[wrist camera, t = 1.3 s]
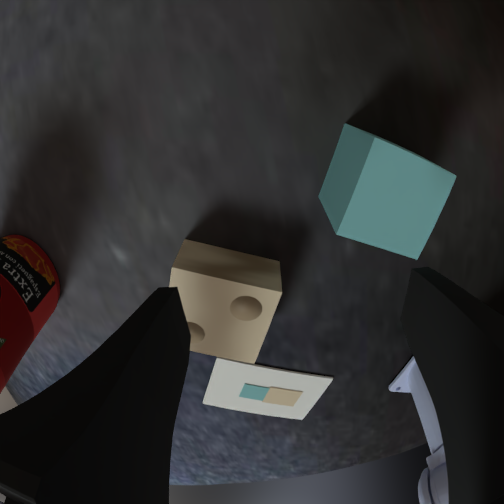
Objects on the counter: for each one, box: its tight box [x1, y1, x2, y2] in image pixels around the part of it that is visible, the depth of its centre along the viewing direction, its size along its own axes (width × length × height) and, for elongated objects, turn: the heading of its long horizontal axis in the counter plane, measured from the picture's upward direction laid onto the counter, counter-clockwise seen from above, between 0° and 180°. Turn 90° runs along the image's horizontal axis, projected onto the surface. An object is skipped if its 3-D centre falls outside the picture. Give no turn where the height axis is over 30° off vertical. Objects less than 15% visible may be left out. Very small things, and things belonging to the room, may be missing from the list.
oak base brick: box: [169, 239, 282, 364], centre depth 20 cm, size 6×6×4 cm
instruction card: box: [203, 357, 333, 420], centre depth 26 cm, size 10×7×1 cm
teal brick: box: [318, 123, 456, 260], centre depth 15 cm, size 4×4×5 cm
